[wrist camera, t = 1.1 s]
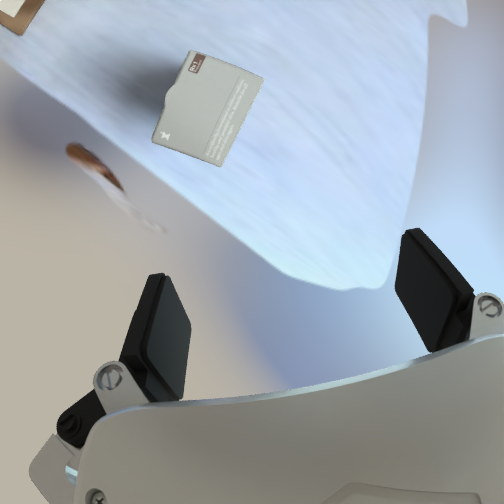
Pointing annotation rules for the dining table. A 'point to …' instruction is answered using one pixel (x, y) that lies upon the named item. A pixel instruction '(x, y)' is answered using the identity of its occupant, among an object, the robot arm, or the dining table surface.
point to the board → (21, 16)
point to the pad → (11, 6)
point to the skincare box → (206, 108)
